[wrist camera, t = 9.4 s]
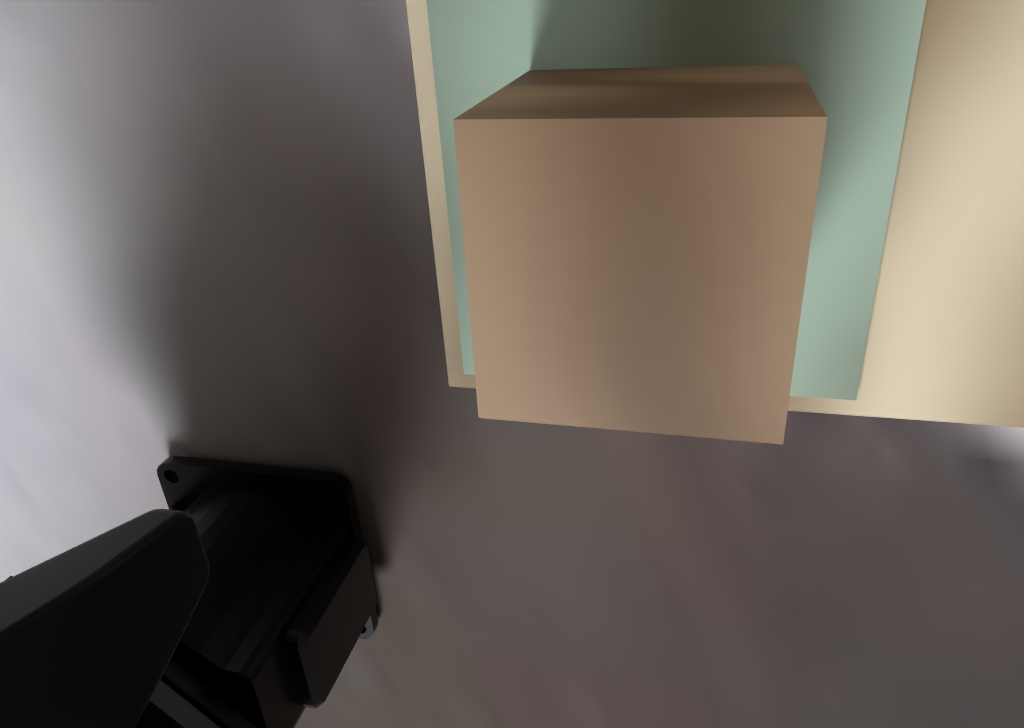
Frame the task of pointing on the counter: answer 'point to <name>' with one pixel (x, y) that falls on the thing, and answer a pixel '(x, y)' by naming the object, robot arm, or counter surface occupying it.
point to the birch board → (842, 183)
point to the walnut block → (640, 246)
